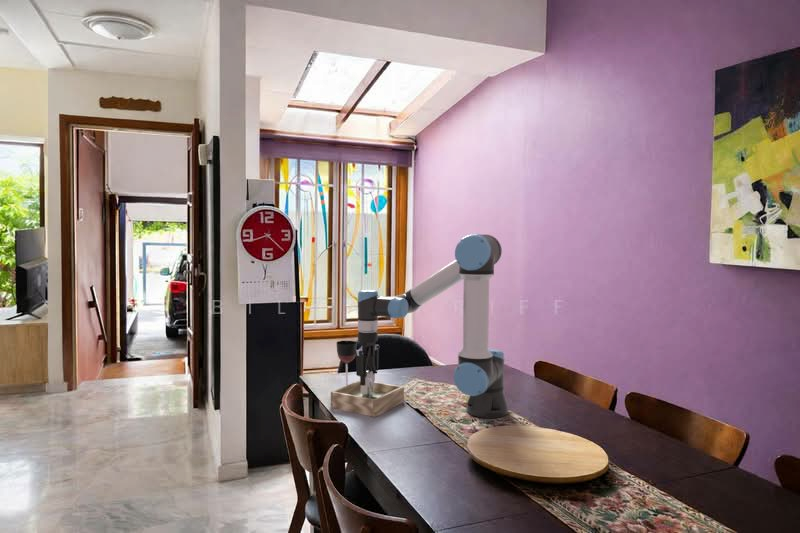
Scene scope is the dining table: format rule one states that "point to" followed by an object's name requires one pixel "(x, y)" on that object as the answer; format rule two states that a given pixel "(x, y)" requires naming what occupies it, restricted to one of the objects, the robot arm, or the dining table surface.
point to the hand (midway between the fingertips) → (367, 391)
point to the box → (354, 402)
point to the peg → (369, 385)
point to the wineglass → (346, 353)
